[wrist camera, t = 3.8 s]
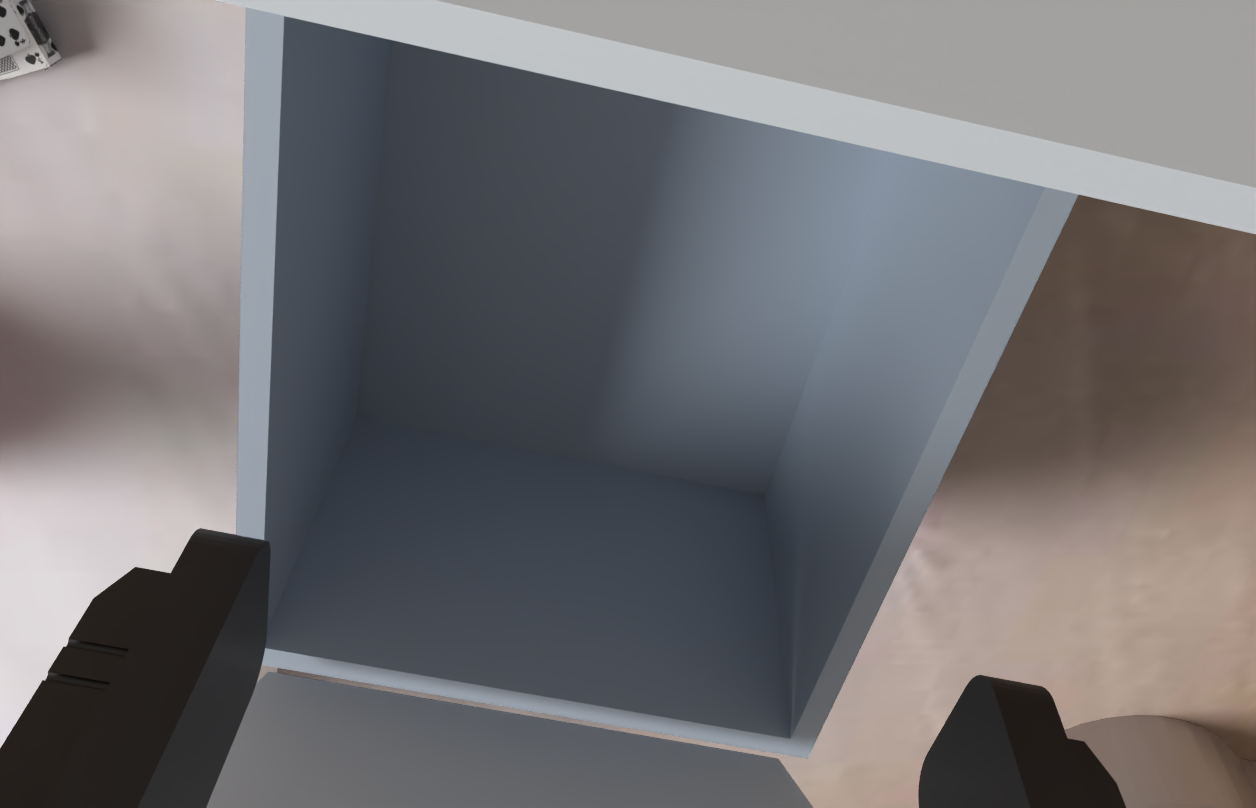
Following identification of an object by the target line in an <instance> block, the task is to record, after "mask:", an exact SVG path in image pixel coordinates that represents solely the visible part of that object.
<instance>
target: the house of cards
mask: <svg viewBox="0 0 1256 808" xmlns="http://www.w3.org/2000/svg"><path fill="white" fill-rule="evenodd" d="M61 59H62V58H61V56H60V54H59V52H58V51H57V49H56V47H55V45H54V44H53V42H52V40H51V38H50V36H49V35H48V33H47V31H46V29H45V27H44V26H43V24H42V22H41V20H40V18H39V17H38V15H37V13H36V11H35V9H34V8H33V6H32V4H31V2H30V1H29V0H0V80H2V79H5V80H7V79H10V78H14V77H17V76H20V75H24V74H27V73H31V72H34V71H37V70H41V69H44V70H46V69H47V68H49V67H50V66H52V65H53V64H55V63H56V62H58V61H59V60H61Z"/></svg>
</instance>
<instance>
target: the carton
mask: <svg viewBox="0 0 1256 808" xmlns="http://www.w3.org/2000/svg"><path fill="white" fill-rule="evenodd" d="M1078 195H1079V194H1074V193H1070V192H1065V191H1061V190H1056V189H1052V188H1047V187H1043V186H1039V185H1034V184H1030V183H1025V182H1021V181H1016V180H1012V179H1007V178H1003V177H998V176H994V175H990V174H985V173H981V172H976V171H972V170H967V169H963V168H958V167H954V166H950V165H945V164H941V163H936V162H932V161H927V160H923V159H918V158H914V157H909V156H905V155H901V154H896V153H892V152H887V151H883V150H878V149H874V148H869V147H865V146H861V145H856V144H852V143H847V142H843V141H838V140H834V139H829V138H825V137H820V136H816V135H812V134H807V133H803V132H798V131H794V130H789V129H785V128H780V127H776V126H772V125H767V124H763V123H758V122H754V121H749V120H745V119H740V118H736V117H732V116H727V115H723V114H718V113H714V112H709V111H705V110H700V109H696V108H691V107H687V106H683V105H678V104H674V103H669V102H665V101H660V100H656V99H651V98H647V97H643V96H638V95H634V94H629V93H625V92H620V91H616V90H611V89H607V88H602V87H598V86H594V85H589V84H585V83H580V82H576V81H571V80H567V79H562V78H558V77H554V76H549V75H545V74H540V73H536V72H531V71H527V70H522V69H518V68H513V67H509V66H505V65H500V64H496V63H491V62H487V61H482V60H478V59H473V58H469V57H465V56H460V55H456V54H451V53H447V52H442V51H438V50H433V49H429V48H424V47H420V46H416V45H411V44H407V43H402V42H398V41H393V40H389V39H384V38H380V37H376V36H371V35H367V34H362V33H358V32H353V31H349V30H344V29H340V28H335V27H331V26H327V25H322V24H318V23H313V22H309V21H304V20H300V19H295V18H291V17H287V16H282V15H278V14H273V13H269V12H264V11H260V10H255V9H251V8H246V32H245V85H244V138H243V191H242V244H241V298H240V351H239V404H238V457H237V511H236V535H239V536H245V537H250V538H255V539H261V540H266V541H269V543H270V549H271V558H270V579H269V600H268V621H267V639H266V646H265V652H264V657H263V662H262V665H264V666H270V667H276V668H281V669H287V670H293V671H299V672H305V673H311V674H316V675H322V676H328V677H334V678H340V679H346V680H351V681H357V682H363V683H369V684H375V685H381V686H386V687H392V688H398V689H404V690H410V691H416V692H421V693H427V694H433V695H439V696H445V697H451V698H456V699H462V700H468V701H474V702H480V703H486V704H491V705H497V706H503V707H509V708H515V709H520V710H526V711H532V712H538V713H544V714H550V715H555V716H561V717H567V718H573V719H579V720H585V721H590V722H596V723H602V724H608V725H614V726H620V727H625V728H631V729H637V730H643V731H649V732H655V733H660V734H666V735H672V736H678V737H684V738H690V739H695V740H701V741H707V742H713V743H719V744H725V745H730V746H736V747H742V748H748V749H754V750H760V751H765V752H771V753H777V754H783V755H789V756H795V757H800V758H806V759H807V758H808V756H809V754H810V752H811V750H812V748H813V746H814V744H815V741H816V739H817V737H818V735H819V733H820V731H821V729H822V727H823V725H824V723H825V721H826V719H827V717H828V714H829V712H830V710H831V708H832V706H833V704H834V702H835V700H836V698H837V696H838V694H839V692H840V690H841V687H842V685H843V683H844V681H845V679H846V677H847V675H848V673H849V671H850V669H851V667H852V665H853V663H854V660H855V658H856V656H857V654H858V652H859V650H860V648H861V646H862V644H863V642H864V640H865V638H866V636H867V633H868V631H869V629H870V627H871V625H872V623H873V621H874V619H875V617H876V615H877V613H878V611H879V609H880V606H881V604H882V602H883V600H884V598H885V596H886V594H887V592H888V590H889V588H890V586H891V584H892V581H893V579H894V577H895V575H896V573H897V571H898V569H899V567H900V565H901V563H902V561H903V559H904V557H905V554H906V552H907V550H908V548H909V546H910V544H911V542H912V540H913V538H914V536H915V534H916V532H917V530H918V527H919V525H920V523H921V521H922V519H923V517H924V515H925V513H926V511H927V509H928V507H929V505H930V503H931V500H932V498H933V496H934V494H935V492H936V490H937V488H938V486H939V484H940V482H941V480H942V478H943V476H944V473H945V471H946V469H947V467H948V465H949V463H950V461H951V459H952V457H953V455H954V453H955V451H956V449H957V446H958V444H959V442H960V440H961V438H962V436H963V434H964V432H965V430H966V428H967V426H968V424H969V422H970V419H971V417H972V415H973V413H974V411H975V409H976V407H977V405H978V403H979V401H980V399H981V397H982V395H983V392H984V390H985V388H986V386H987V384H988V382H989V380H990V378H991V376H992V374H993V372H994V370H995V367H996V365H997V363H998V361H999V359H1000V357H1001V355H1002V353H1003V351H1004V349H1005V347H1006V345H1007V343H1008V340H1009V338H1010V336H1011V334H1012V332H1013V330H1014V328H1015V326H1016V324H1017V322H1018V320H1019V318H1020V316H1021V313H1022V311H1023V309H1024V307H1025V305H1026V303H1027V301H1028V299H1029V297H1030V295H1031V293H1032V291H1033V289H1034V286H1035V284H1036V282H1037V280H1038V278H1039V276H1040V274H1041V272H1042V270H1043V268H1044V266H1045V264H1046V262H1047V259H1048V257H1049V255H1050V253H1051V251H1052V249H1053V247H1054V245H1055V243H1056V241H1057V239H1058V237H1059V235H1060V232H1061V230H1062V228H1063V226H1064V224H1065V222H1066V220H1067V218H1068V216H1069V214H1070V212H1071V210H1072V208H1073V205H1074V203H1075V201H1076V199H1077V197H1078Z"/></svg>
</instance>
